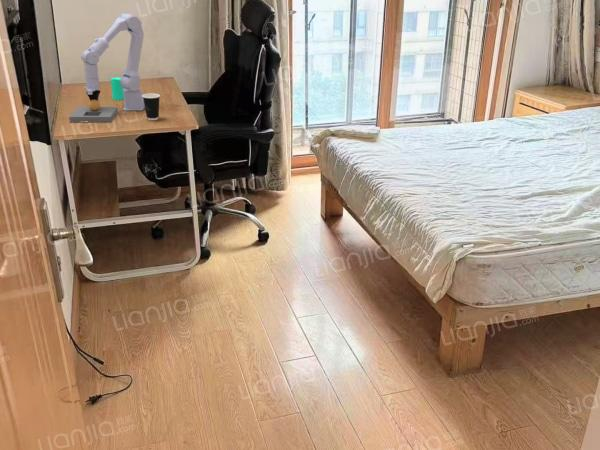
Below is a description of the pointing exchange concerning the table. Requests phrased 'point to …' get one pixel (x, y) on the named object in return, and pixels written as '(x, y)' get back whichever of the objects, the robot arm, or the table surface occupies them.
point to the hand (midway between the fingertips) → (94, 106)
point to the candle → (117, 89)
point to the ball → (94, 105)
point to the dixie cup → (151, 105)
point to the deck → (94, 114)
